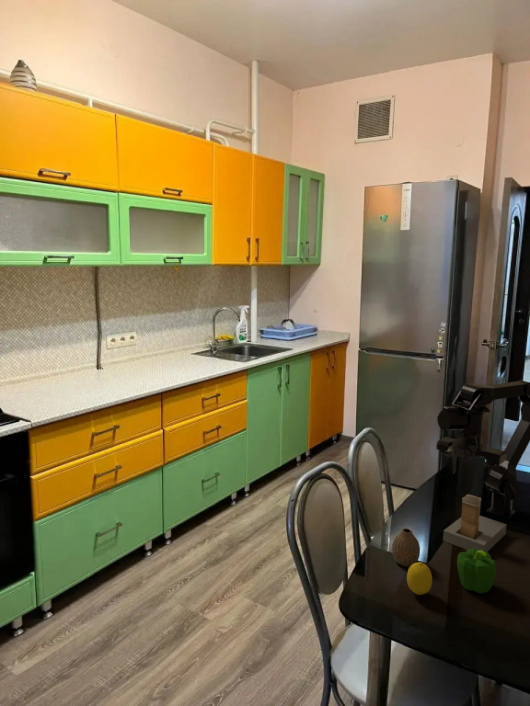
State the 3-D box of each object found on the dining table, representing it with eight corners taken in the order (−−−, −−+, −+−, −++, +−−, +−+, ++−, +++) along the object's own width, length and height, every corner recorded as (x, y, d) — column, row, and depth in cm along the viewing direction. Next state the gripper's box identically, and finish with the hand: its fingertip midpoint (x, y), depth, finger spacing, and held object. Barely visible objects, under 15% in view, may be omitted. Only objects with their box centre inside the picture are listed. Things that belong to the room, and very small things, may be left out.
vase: (419, 557, 134) (421, 526, 133) (418, 572, 128) (420, 539, 127) (392, 553, 137) (394, 521, 135) (390, 566, 130) (391, 534, 129)
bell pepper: (451, 576, 126) (453, 538, 125) (485, 577, 126) (488, 539, 124) (463, 597, 118) (465, 557, 116) (499, 598, 118) (503, 558, 116)
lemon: (432, 603, 116) (434, 570, 115) (406, 600, 117) (408, 567, 116) (429, 589, 121) (431, 557, 120) (405, 586, 122) (407, 554, 121)
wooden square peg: (464, 538, 144) (467, 494, 142) (477, 542, 142) (481, 498, 140) (459, 542, 142) (462, 498, 140) (472, 547, 139) (475, 502, 137)
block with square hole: (467, 521, 154) (468, 511, 154) (505, 534, 147) (506, 524, 146) (442, 540, 143) (443, 530, 142) (483, 555, 135) (483, 545, 135)
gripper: (429, 426, 152) (426, 476, 154) (493, 440, 139) (489, 495, 141) (446, 418, 160) (443, 466, 162) (509, 431, 147) (504, 484, 149)
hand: (468, 477), depth 154 cm, fingers open, 9 cm apart
